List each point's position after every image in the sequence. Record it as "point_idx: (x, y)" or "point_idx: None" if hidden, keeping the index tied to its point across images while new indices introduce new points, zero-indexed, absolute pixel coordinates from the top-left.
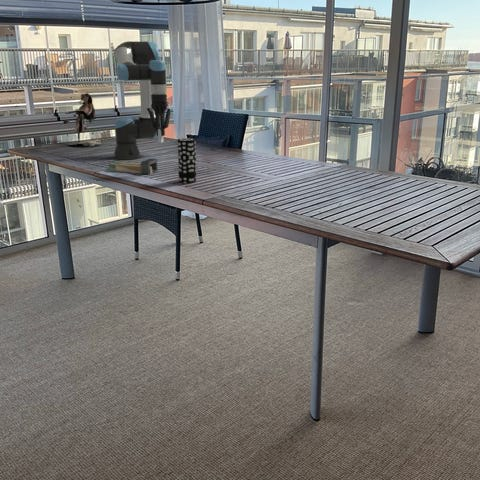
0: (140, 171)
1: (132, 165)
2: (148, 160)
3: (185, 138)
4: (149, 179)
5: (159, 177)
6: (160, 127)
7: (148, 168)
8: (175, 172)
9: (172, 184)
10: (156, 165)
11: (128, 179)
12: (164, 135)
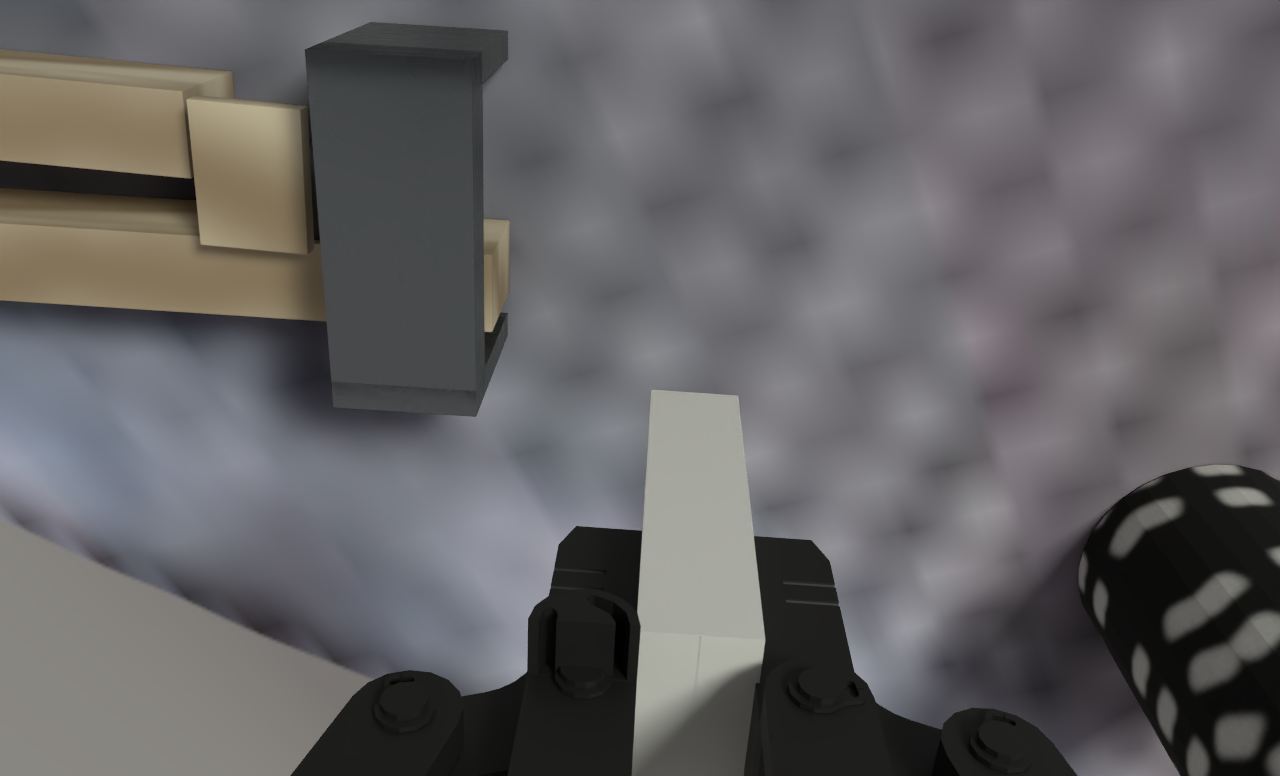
0: None
1: (134, 274)
2: (391, 259)
3: None
4: None
5: None
6: (631, 652)
7: (493, 366)
8: (861, 49)
9: None
10: (492, 73)
11: (408, 638)
12: (813, 547)
